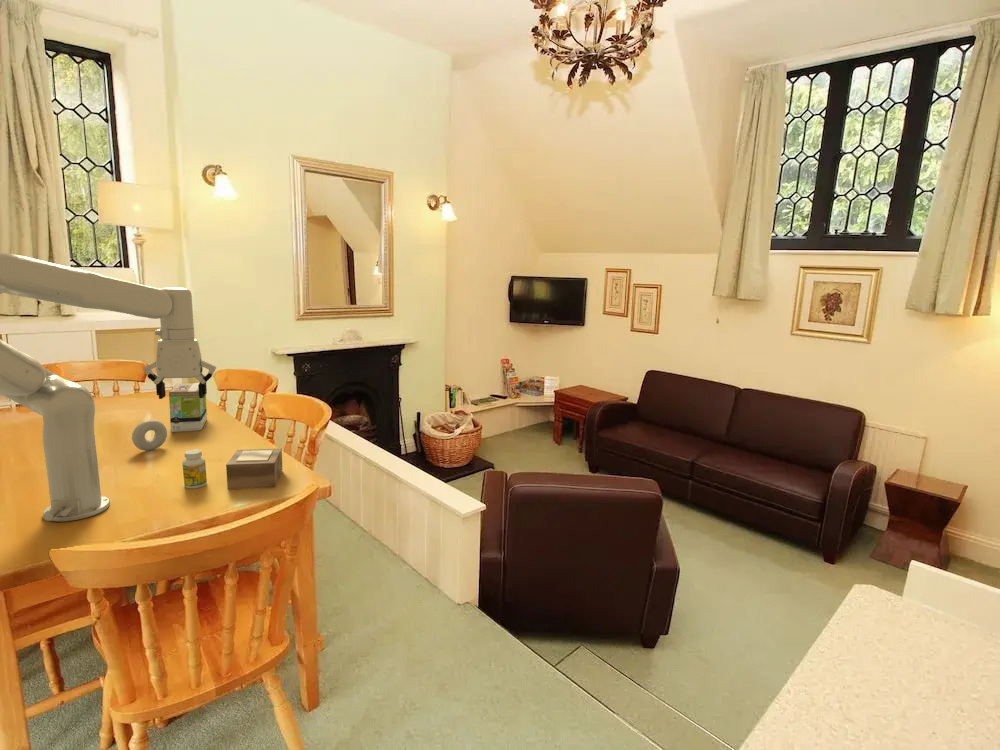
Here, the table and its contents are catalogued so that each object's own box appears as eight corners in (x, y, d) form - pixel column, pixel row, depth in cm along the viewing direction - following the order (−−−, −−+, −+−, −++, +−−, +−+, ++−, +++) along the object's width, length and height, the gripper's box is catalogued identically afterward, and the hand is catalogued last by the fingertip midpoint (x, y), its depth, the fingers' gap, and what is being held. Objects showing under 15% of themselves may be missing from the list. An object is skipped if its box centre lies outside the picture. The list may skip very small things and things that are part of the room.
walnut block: (275, 487, 148) (274, 461, 147) (227, 489, 146) (226, 463, 144) (282, 471, 160) (281, 447, 158) (238, 472, 157) (237, 448, 156)
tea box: (202, 430, 194) (199, 390, 191) (170, 432, 190) (167, 391, 187) (207, 419, 208) (205, 381, 205) (177, 421, 204) (174, 382, 201)
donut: (136, 455, 167) (133, 424, 166) (131, 453, 169) (128, 422, 167) (170, 447, 176) (168, 417, 174) (165, 445, 178) (162, 415, 176)
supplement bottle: (211, 482, 150) (209, 449, 148) (197, 490, 145) (195, 455, 143) (193, 480, 151) (191, 447, 149) (179, 488, 145) (176, 453, 144)
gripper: (135, 336, 138) (141, 401, 141) (210, 336, 143) (214, 400, 146) (146, 332, 145) (151, 394, 148) (217, 333, 150) (220, 393, 153)
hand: (182, 397), depth 147 cm, fingers open, 9 cm apart
